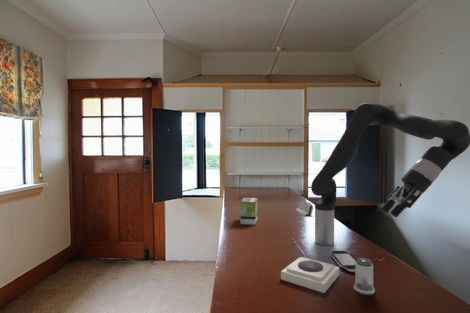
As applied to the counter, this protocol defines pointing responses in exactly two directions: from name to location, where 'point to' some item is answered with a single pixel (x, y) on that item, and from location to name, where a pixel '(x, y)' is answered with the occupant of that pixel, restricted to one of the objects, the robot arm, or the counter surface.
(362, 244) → the counter surface
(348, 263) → the gaming console
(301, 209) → the hinge
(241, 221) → the tea box
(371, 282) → the knob
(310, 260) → the stand
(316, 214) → the robot arm
